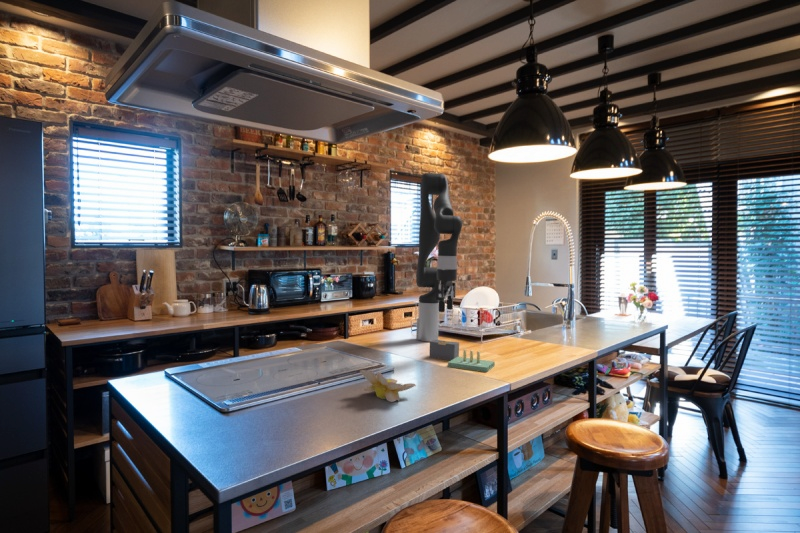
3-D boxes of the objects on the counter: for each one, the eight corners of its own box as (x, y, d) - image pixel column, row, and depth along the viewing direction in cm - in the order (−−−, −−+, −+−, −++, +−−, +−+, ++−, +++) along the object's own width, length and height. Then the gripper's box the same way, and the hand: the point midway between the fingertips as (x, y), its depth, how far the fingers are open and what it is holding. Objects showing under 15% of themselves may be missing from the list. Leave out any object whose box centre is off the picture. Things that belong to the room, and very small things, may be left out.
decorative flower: (426, 393, 122) (419, 358, 120) (395, 412, 114) (387, 375, 113) (391, 384, 133) (384, 352, 132) (361, 400, 126) (353, 367, 125)
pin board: (447, 366, 158) (448, 351, 158) (457, 360, 167) (457, 346, 167) (486, 372, 152) (487, 355, 152) (494, 365, 161) (494, 350, 161)
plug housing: (429, 357, 172) (429, 341, 171) (434, 354, 176) (434, 339, 176) (454, 360, 167) (454, 344, 167) (458, 357, 172) (459, 342, 171)
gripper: (444, 267, 179) (443, 308, 179) (430, 268, 166) (429, 311, 166) (462, 268, 175) (461, 309, 176) (449, 268, 162) (448, 313, 163)
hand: (445, 310), depth 171 cm, fingers open, 8 cm apart
